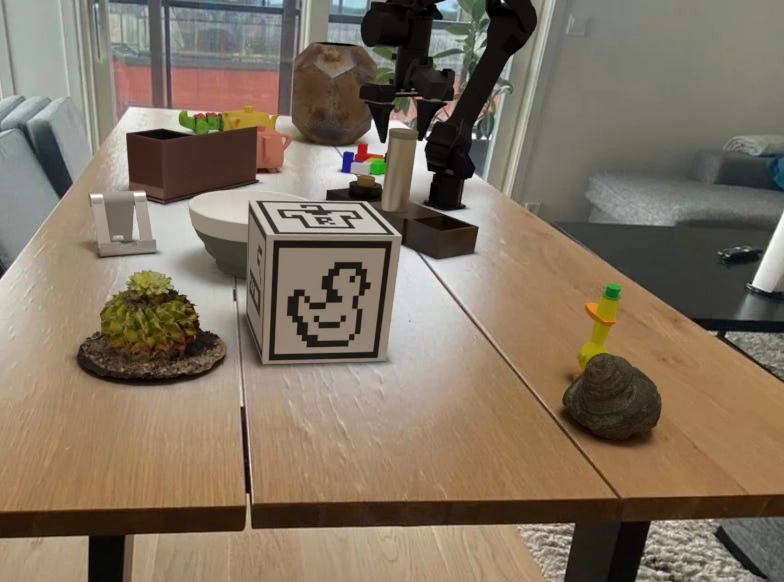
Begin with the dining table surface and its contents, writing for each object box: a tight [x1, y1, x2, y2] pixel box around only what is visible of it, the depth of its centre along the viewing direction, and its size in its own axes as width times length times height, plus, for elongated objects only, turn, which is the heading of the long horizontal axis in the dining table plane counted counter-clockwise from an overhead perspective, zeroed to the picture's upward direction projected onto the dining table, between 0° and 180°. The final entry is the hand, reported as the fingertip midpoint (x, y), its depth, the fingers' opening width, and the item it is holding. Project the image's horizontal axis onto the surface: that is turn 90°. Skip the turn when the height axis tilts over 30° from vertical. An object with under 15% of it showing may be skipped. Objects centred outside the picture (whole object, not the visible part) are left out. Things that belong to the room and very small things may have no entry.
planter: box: [290, 41, 378, 147], centre depth 208 cm, size 22×24×24 cm
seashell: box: [561, 353, 663, 441], centre depth 80 cm, size 11×12×10 cm
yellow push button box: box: [325, 180, 383, 203], centre depth 155 cm, size 12×10×4 cm
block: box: [245, 200, 402, 365], centre depth 93 cm, size 15×15×15 cm
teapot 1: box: [221, 105, 282, 131], centre depth 194 cm, size 14×13×10 cm
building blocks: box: [341, 142, 387, 176], centre depth 185 cm, size 15×13×4 cm
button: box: [356, 174, 376, 187], centre depth 154 cm, size 4×4×2 cm
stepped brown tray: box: [369, 200, 480, 260], centre depth 136 cm, size 9×20×4 cm, turn 34°
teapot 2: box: [256, 124, 293, 174], centre depth 175 cm, size 12×12×10 cm
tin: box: [381, 127, 419, 213], centre depth 133 cm, size 5×5×13 cm
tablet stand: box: [87, 190, 157, 257], centre depth 120 cm, size 9×8×8 cm
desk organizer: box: [125, 126, 260, 205], centre depth 156 cm, size 10×29×11 cm, turn 144°
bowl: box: [187, 189, 311, 280], centre depth 115 cm, size 20×20×10 cm
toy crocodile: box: [178, 109, 225, 135], centre depth 211 cm, size 20×7×6 cm, turn 114°
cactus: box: [76, 268, 227, 380], centre depth 87 cm, size 17×16×10 cm
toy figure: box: [573, 282, 622, 381], centre depth 88 cm, size 7×4×12 cm, turn 8°
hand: (401, 142), depth 146 cm, fingers open, 9 cm apart
